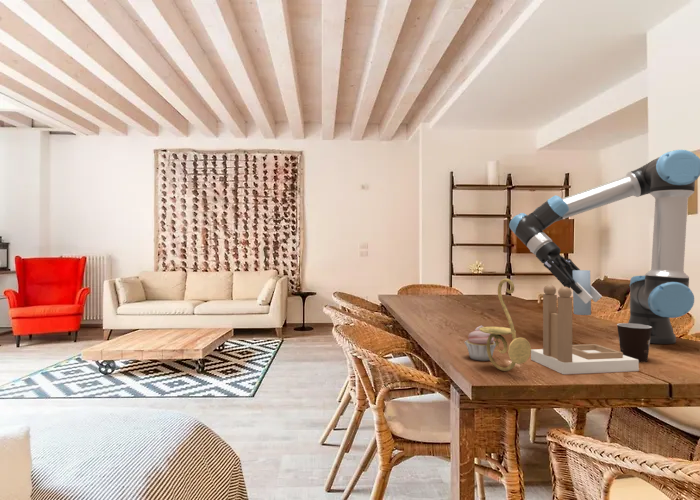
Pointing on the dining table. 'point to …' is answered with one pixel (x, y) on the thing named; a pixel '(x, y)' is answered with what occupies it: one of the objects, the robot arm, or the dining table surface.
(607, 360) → the peg insertion fixture
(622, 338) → the coffee mug
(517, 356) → the wall sconce
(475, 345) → the cupcake
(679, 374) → the dining table surface
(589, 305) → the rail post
